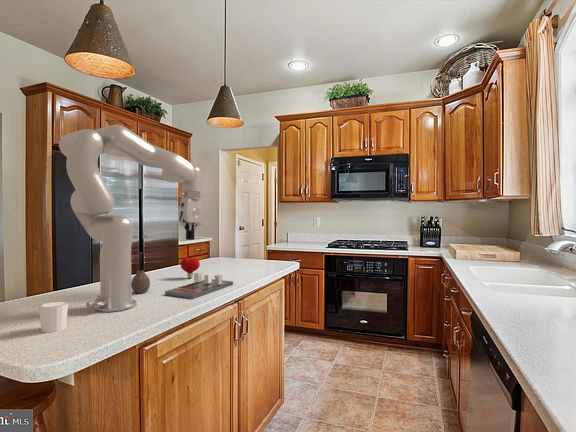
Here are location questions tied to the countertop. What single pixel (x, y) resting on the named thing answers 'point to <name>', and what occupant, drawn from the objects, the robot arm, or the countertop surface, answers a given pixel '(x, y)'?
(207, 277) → the handle
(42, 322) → the white cup
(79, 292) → the countertop surface
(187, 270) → the light bulb
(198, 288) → the switch panel
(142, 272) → the vase
